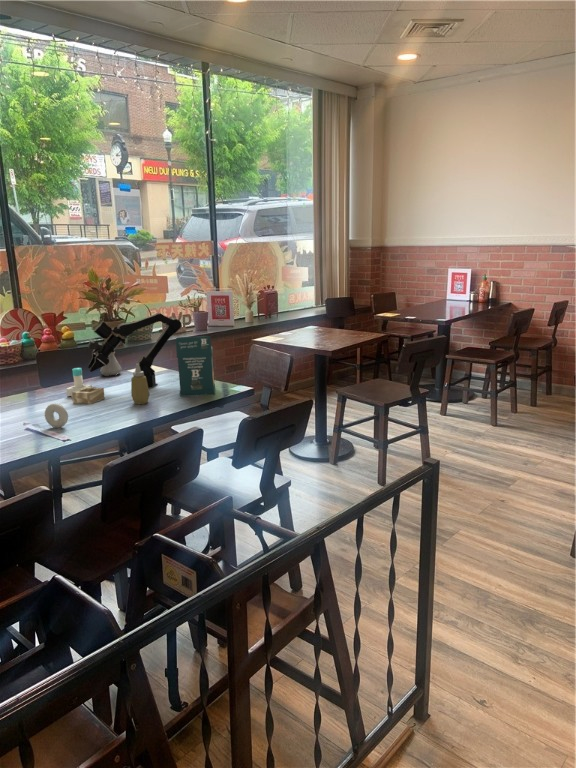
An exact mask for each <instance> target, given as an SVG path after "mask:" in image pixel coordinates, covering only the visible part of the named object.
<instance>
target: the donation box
mask: <svg viewBox="0 0 576 768" xmlns="http://www.w3.org/2000/svg"><path fill="white" fill-rule="evenodd" d="M211 341H212V340H211V336H209V335H203V336H202V335H201V336H183V337H182V336H181V337H180V336H179V337H176V338H175V346H176V347H175V349H176V358H177V365H178V366H177V367H178V368H177V369H178V378H179V380H178V381H179V397H192V396H194V397H195V396H212V395H213V396H215V393H216V392H215V391H216V384H215V375H214V374H215V373H214V361H213V359H214V358H213V352H214V351H213V350H214V349H213V346H212V343H211Z"/></svg>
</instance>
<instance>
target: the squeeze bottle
mask: <svg viewBox="0 0 576 768" xmlns="http://www.w3.org/2000/svg"><path fill="white" fill-rule="evenodd" d="M132 375H133V376H132V377H131V382H130V384H131V385H130V386H131V391H130V393H131V394H130V396H131V399H132V401H133V403H134V404H135V405H143V404H147V403H148V402H149V399H150V390H149V387H148V384H147V379H146V376H143V375H144V372H143V371H141V369H140V366H139V364H137V363H135V369H134V371H133V372H132Z"/></svg>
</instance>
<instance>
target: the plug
mask: <svg viewBox="0 0 576 768" xmlns="http://www.w3.org/2000/svg"><path fill="white" fill-rule="evenodd" d="M71 370H72V376H73V377H72V378H73V386H75V388H76V389H81V388H84V386H83V385H84V381H83V370H82V367H74V368H72V369H71Z"/></svg>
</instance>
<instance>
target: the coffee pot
mask: <svg viewBox="0 0 576 768" xmlns="http://www.w3.org/2000/svg"><path fill="white" fill-rule="evenodd" d="M115 353H116V351H114V352H112V353H111V354H110V356H109V358H108V359H109V363H108V364H107V365H106V364H105V366H103V367H101V368H100V370H99V371H100V374H102V375H104V376H105V377H110V376H109V375H115V376H117V375H116V374H117V373H119V374H120V373H121V372H122V367H121V365H120V363H119V361H118V360H117V358H116V356H115Z"/></svg>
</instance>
